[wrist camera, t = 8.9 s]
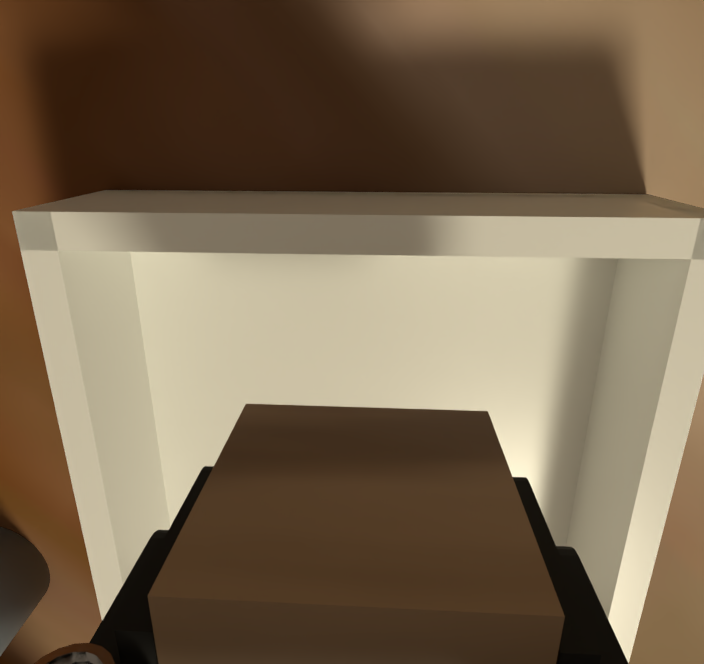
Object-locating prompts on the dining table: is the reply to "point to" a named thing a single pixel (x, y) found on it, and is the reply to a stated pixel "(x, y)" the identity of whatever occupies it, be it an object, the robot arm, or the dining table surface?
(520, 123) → the dining table surface
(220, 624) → the walnut cube
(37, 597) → the slate capsule
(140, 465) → the tote
